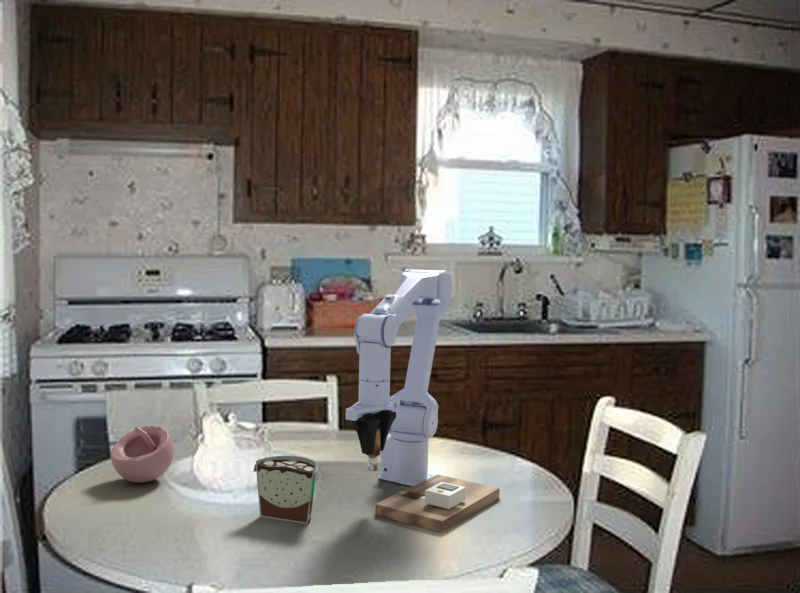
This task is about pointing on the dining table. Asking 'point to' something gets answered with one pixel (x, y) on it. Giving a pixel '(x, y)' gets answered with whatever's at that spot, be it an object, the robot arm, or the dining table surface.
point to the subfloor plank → (417, 512)
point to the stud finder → (445, 495)
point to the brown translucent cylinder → (375, 452)
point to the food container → (286, 487)
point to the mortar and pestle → (143, 454)
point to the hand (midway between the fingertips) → (372, 451)
